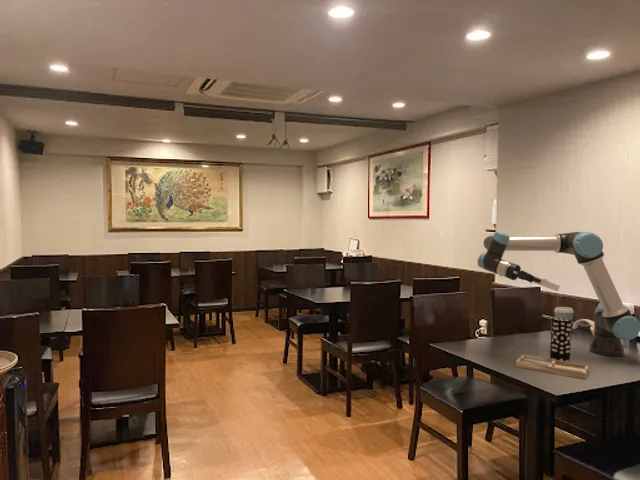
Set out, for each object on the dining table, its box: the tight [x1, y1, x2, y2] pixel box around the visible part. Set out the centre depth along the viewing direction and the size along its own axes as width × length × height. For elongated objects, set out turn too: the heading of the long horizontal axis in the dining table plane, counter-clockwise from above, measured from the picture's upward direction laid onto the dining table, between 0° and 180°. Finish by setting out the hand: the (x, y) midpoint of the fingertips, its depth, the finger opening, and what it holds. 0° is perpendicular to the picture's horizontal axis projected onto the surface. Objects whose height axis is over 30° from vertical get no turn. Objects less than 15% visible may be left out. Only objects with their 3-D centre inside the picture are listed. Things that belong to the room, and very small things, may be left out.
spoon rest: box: [572, 318, 595, 330], centre depth 287 cm, size 24×12×7 cm, turn 35°
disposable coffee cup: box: [553, 306, 575, 321], centre depth 283 cm, size 11×11×15 cm
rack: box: [515, 354, 590, 380], centre depth 210 cm, size 14×27×2 cm, turn 55°
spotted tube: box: [549, 317, 573, 362], centre depth 221 cm, size 8×8×20 cm
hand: (553, 286), depth 211 cm, fingers open, 13 cm apart
